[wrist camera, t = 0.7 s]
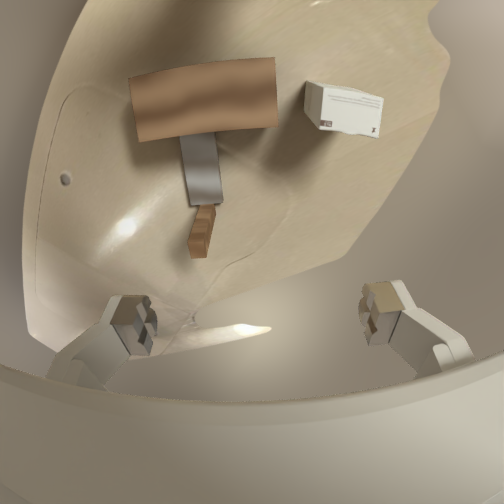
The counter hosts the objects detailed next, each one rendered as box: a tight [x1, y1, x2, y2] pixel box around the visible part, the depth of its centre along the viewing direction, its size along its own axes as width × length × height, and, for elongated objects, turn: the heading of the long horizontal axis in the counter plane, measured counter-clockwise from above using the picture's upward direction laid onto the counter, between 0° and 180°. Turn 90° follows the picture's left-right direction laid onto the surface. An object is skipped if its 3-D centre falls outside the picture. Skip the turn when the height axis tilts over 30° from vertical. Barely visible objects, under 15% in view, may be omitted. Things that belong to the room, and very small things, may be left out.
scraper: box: [179, 132, 223, 259], centre depth 44 cm, size 18×6×14 cm, turn 4°
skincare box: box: [304, 81, 384, 139], centre depth 36 cm, size 8×6×15 cm
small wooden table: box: [129, 57, 278, 143], centre depth 38 cm, size 10×20×10 cm, turn 94°
